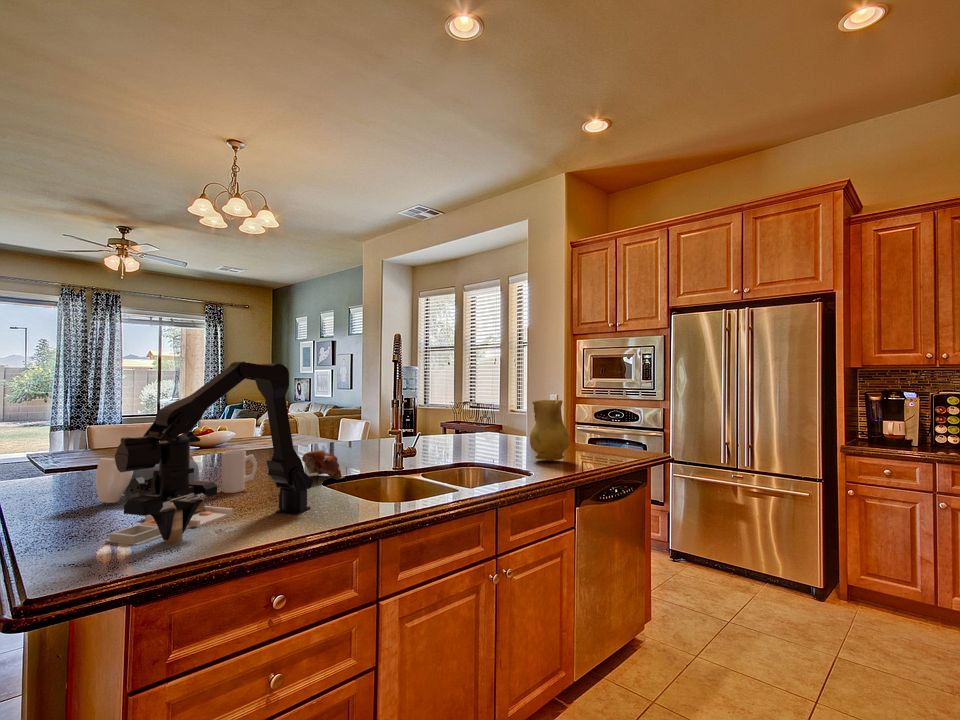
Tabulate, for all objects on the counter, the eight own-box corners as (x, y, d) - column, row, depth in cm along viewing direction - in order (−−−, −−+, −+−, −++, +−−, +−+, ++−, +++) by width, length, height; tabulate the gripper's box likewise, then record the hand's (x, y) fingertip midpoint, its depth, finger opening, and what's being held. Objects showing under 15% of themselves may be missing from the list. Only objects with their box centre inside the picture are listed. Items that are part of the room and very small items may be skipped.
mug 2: (221, 494, 152) (222, 454, 152) (220, 489, 157) (221, 451, 158) (257, 490, 156) (258, 452, 157) (255, 486, 162) (256, 449, 163)
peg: (186, 542, 110) (186, 510, 110) (172, 547, 106) (173, 514, 107) (173, 540, 111) (174, 508, 111) (159, 546, 107) (160, 513, 108)
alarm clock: (199, 484, 164) (199, 447, 164) (198, 498, 146) (198, 457, 147) (128, 491, 155) (128, 451, 155) (117, 507, 137) (118, 462, 138)
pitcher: (528, 460, 211) (528, 401, 211) (531, 453, 229) (531, 398, 229) (569, 462, 208) (569, 401, 208) (569, 454, 226) (569, 399, 227)
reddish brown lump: (350, 477, 176) (350, 449, 176) (319, 484, 166) (320, 454, 166) (322, 472, 186) (323, 445, 186) (292, 477, 176) (292, 449, 176)
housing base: (232, 516, 129) (232, 508, 129) (197, 529, 119) (197, 520, 119) (182, 511, 133) (182, 503, 134) (144, 523, 123) (144, 515, 123)
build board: (192, 528, 119) (192, 518, 119) (137, 549, 105) (137, 537, 106) (162, 525, 121) (162, 515, 121) (105, 544, 108) (105, 533, 108)
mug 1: (88, 499, 138) (98, 457, 141) (125, 499, 144) (133, 459, 146) (91, 505, 129) (101, 460, 131) (130, 505, 135) (139, 462, 137)
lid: (204, 509, 130) (204, 498, 130) (174, 518, 122) (175, 507, 122) (173, 506, 133) (174, 495, 133) (142, 515, 124) (142, 504, 124)
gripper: (181, 455, 120) (180, 521, 120) (103, 470, 102) (102, 547, 102) (219, 458, 117) (218, 525, 117) (146, 474, 99) (144, 553, 99)
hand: (173, 536), depth 109 cm, fingers closed on peg, 3 cm apart
